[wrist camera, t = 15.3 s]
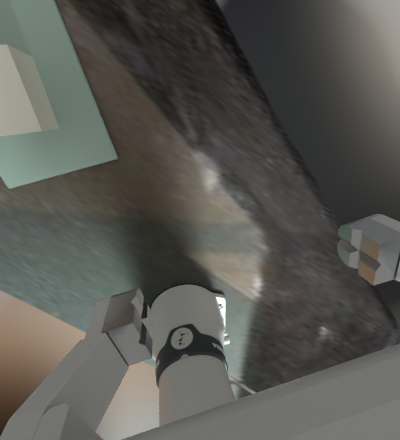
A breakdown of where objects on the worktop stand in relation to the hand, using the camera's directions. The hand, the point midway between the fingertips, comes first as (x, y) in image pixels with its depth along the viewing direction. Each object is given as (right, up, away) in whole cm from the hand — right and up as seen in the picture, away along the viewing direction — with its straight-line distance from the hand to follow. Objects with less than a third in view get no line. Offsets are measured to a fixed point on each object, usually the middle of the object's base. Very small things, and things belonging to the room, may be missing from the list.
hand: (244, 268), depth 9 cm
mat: (-24, +18, +20) cm, 36 cm away
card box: (-24, +17, +19) cm, 35 cm away
